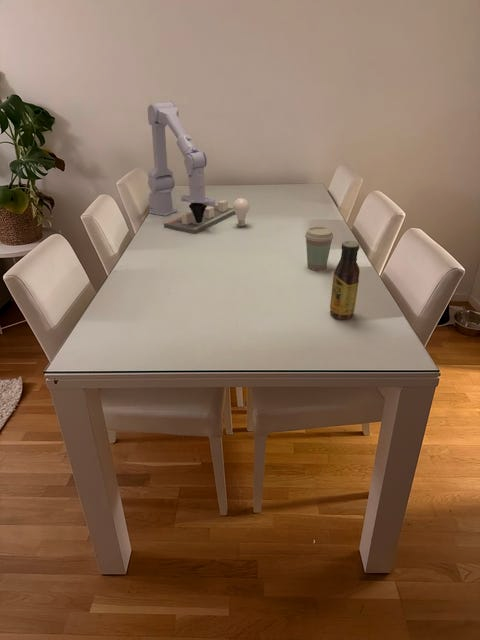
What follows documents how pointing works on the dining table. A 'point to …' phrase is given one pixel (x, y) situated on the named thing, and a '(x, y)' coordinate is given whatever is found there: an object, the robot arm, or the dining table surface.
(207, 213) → the breaker middle
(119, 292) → the dining table surface
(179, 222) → the breaker panel
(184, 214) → the block
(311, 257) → the coffee cup
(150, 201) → the robot arm
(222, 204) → the breaker left
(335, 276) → the sauce bottle
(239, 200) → the lightbulb
